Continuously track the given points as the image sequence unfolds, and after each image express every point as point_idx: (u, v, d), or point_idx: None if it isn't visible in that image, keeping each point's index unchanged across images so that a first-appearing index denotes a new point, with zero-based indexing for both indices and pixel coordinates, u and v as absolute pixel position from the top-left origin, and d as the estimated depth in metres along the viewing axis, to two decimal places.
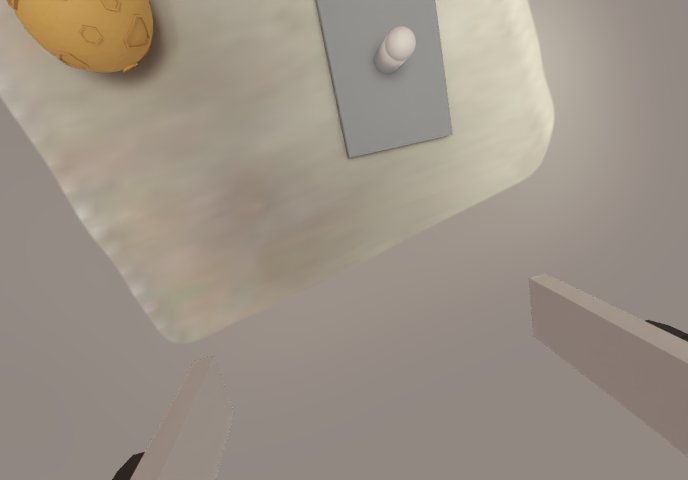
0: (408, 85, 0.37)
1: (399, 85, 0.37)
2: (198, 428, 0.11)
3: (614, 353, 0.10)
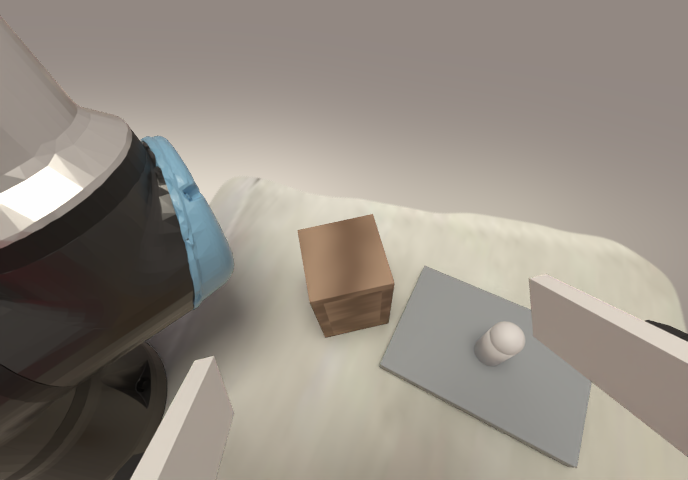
0: (524, 348, 0.33)
1: (520, 356, 0.33)
2: (198, 428, 0.11)
3: (614, 353, 0.10)
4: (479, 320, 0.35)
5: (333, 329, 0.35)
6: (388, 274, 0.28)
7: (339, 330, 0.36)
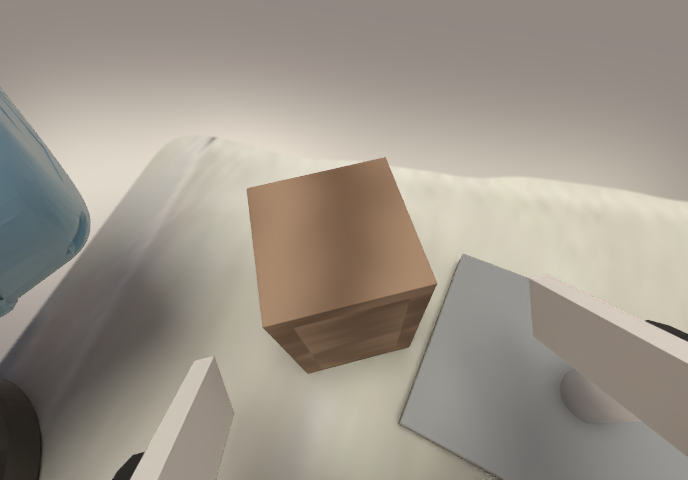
0: None
1: None
2: (198, 428, 0.11)
3: (614, 353, 0.10)
4: None
5: (319, 362, 0.21)
6: (423, 266, 0.14)
7: (331, 363, 0.22)
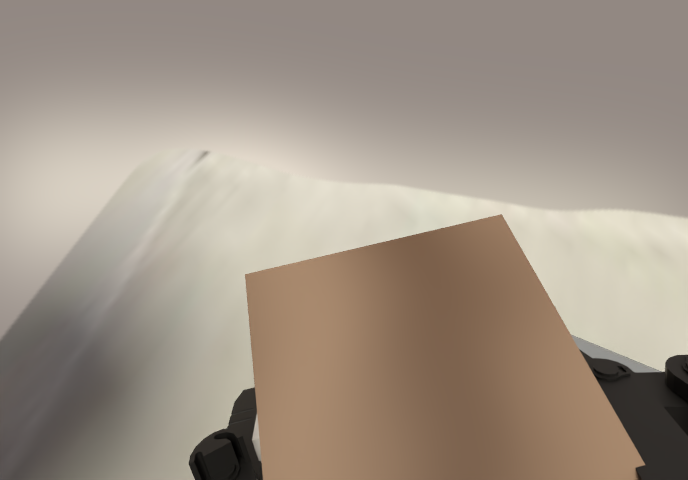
0: None
1: None
2: None
3: None
4: None
5: None
6: None
7: None
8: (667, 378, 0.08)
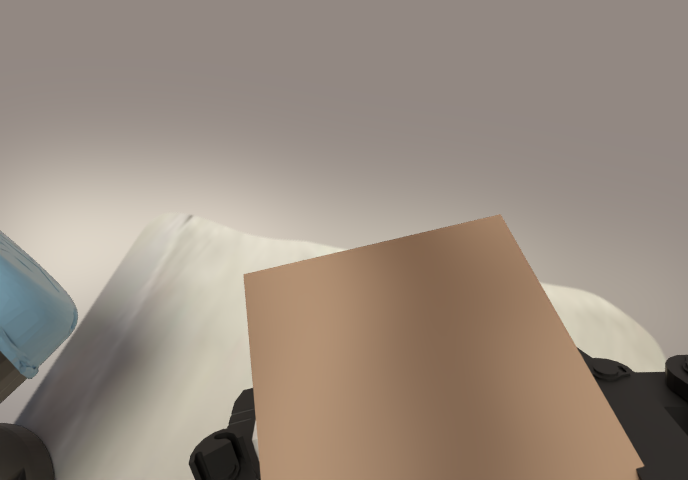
0: None
1: None
2: None
3: None
4: None
5: None
6: None
7: None
8: (667, 378, 0.08)
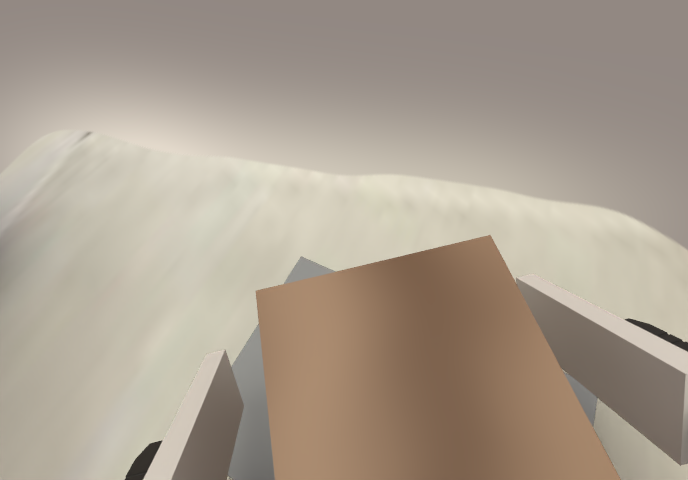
0: None
1: None
2: (212, 418, 0.11)
3: (595, 351, 0.11)
4: None
5: None
6: None
7: None
8: None
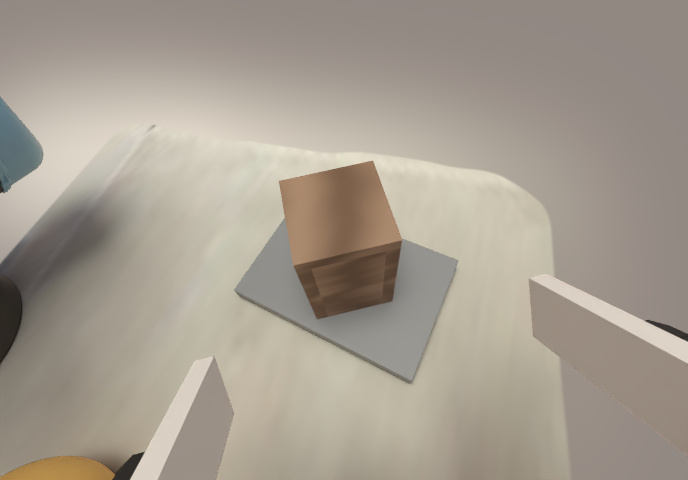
0: None
1: None
2: (198, 428, 0.11)
3: (614, 353, 0.10)
4: None
5: (326, 308, 0.29)
6: (394, 230, 0.22)
7: (334, 310, 0.30)
8: None
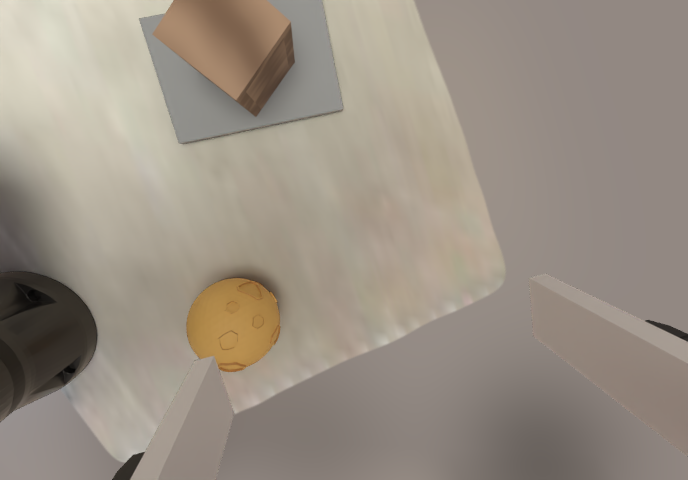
0: None
1: None
2: (198, 428, 0.11)
3: (614, 353, 0.10)
4: None
5: (259, 105, 0.34)
6: (279, 16, 0.25)
7: (264, 101, 0.35)
8: None
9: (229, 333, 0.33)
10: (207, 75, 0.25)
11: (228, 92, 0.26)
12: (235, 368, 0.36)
